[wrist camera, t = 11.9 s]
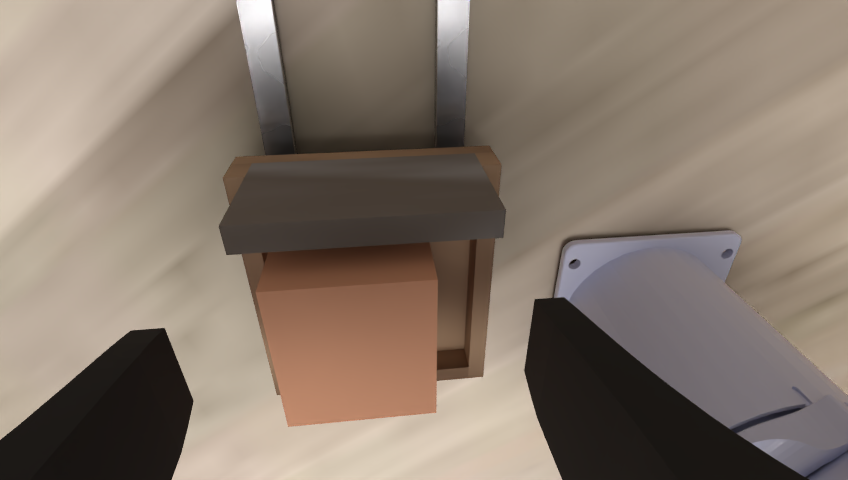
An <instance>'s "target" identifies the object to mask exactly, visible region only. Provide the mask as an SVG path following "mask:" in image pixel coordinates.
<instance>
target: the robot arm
mask: <svg viewBox="0 0 848 480" xmlns="http://www.w3.org/2000/svg"><path fill="white" fill-rule="evenodd" d="M741 240H742V239H741V236H740V235H738V234H737V233H736V232H734V231H731V230H727V231H711V232H695V233H680V234H664V235H648V236H633V237H617V238H601V239H586V240H574V241H570V242H569V243H567V244H566V245H565V246H564V247H563V250H562V254H561V260H560V266H559V271H558V277H557V282H556V288H555V294H554V298H546V299H535V301H534V308H533V315H532V322H531V329H530V336H529V342H528V349H527V356H526V363H525V370H524V371H525V375H526V379H527V383H528V387H529V390H530V394H531V398H532V401H533V405H534V408H535V412H536V415H537V418H538V421H539V423H540V426H541V428H542V431H543V433H544V436H545V438H546V441H547V443H548V446H549V448H550V451H551V453H552V456H553V458H554V460H555V463H556V465H557V468H558V470H559V473H560V475H561V477H562V480H848V395H847V394H845V393H844V392H843V391H842V390H841V389H840V388H839V387H838V386H837V385H836V384H835V383H833V382H832V381H831V380H830V379H829V378H828V377H827V376H826V375H825V374H824V373H823V372H821V371H820V370H819V369H818V368H817V367H816V366H815V365H814V364H813V363H812V362H811V361H810V360H808V359H807V358H806V357H805V356H804V355H803V354H802V353H801V352H800V351H799V350H798V349H796V348H795V347H794V346H793V345H792V344H791V343H790V342H789V341H788V340H787V339H786V338H784V337H783V336H782V335H781V334H780V333H779V332H778V331H777V330H776V329H775V328H774V327H772V326H771V325H770V324H769V323H768V322H767V321H766V320H765V319H764V318H763V317H762V316H760V315H759V314H758V313H757V312H756V311H755V310H754V309H753V308H752V307H751V306H750V305H748V304H747V303H746V302H745V301H744V300H743V299H742V298H741V297H740V296H739V295H738V294H736V293H735V292H734V291H733V290H732V289H731V288H730V287H729V286H728V285H727V284H726V283H725V280H726V278H727V276H728V273H729V271H730V268H731V266H732V263H733V261H734V259H735V256H736V254H737V251H738V249H739V247H740V244H741ZM725 250H726V251H725ZM723 251H725V252H723ZM574 259H577V260H576V261H575V262H574V263H572V264H569V263H570V261H572V260H574ZM192 406H193V398H192V396H191V393H190V391H189V388H188V386H187V383H186V381H185V378H184V376H183V373H182V371H181V368H180V366H179V363H178V361H177V358H176V356H175V353H174V351H173V348H172V346H171V343H170V341H169V338H168V336H167V333H166V331H165V328H159V329H146V330H133V331H130V332H129V333H127V334H126V335H125V336H124V337H122V338H121V339H120V340H118V341H117V342H116V343H115V344H114V345H112V346H111V347H110V348H109V349H108V350H106V351H105V352H104V353H103V354H102V355H101V356H99V357H98V358H97V359H96V360H95V361H94V362H92V363H91V364H90V365H89V366H88V367H87V368H85V369H84V370H83V371H82V372H81V373H80V374H78V375H77V376H76V377H75V378H74V379H73V380H72V381H70V382H69V383H68V384H67V385H66V386H65V387H63V388H62V389H61V390H60V391H59V392H57V393H56V394H55V395H54V396H53V397H52V398H50V399H49V400H48V401H47V402H46V403H44V404H43V405H42V406H41V407H40V408H39V409H37V410H36V411H35V412H34V413H33V414H31V415H30V416H29V417H28V418H27V419H26V420H24V421H23V422H22V423H21V424H20V425H18V426H17V427H16V428H15V429H13V430H12V431H11V432H10V433H8V434H7V435H6V436H5V437H3V438H2V439H1V440H0V480H171V479H172V477H173V474H174V471H175V469H176V466H177V463H178V460H179V458H180V455H181V452H182V448H183V444H184V440H185V436H186V432H187V428H188V424H189V419H190V415H191V410H192Z"/></svg>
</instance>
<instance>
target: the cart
mask: <svg viewBox="0 0 848 480" xmlns="http://www.w3.org/2000/svg"><path fill="white" fill-rule="evenodd" d="M500 176H501V163H500V162H499V160H498V158H497V157H496V155H495V154H494V152H493V151H492V149H491V148H490V146H470V147H448V148H425V149H402V150H380V151H357V152H334V153H312V154H289V155H266V156H244V157H235V159H234V161H233V162H232V164H231V165H230V167H229V169H228V170H227V172H226V174H225V175H224V177H223V181H224V185H225V189H226V193H227V197H228V201H229V205H230V206H229V208H228V210H227V211H226V213H225V215H224V217H223V219H222V221H221V223H220V225H219V229H220V233H221V236H222V240H223V244H224V247H225V251H226V255H234V254H242V257H243V261H244V265H245V269H246V273H247V277H248V281H249V285H250V289H251V293H252V297H253V301H254V305H255V309H256V313H257V317H258V321H259V325H260V329H261V333H262V337H263V341H264V345H265V349H266V353H267V357H268V361H269V365H270V369H271V373H272V377H273V381H274V385H275V389H276V393H277V395H280V391H279V387H278V382H277V378H276V374H275V370H274V366H273V362H272V358H271V354H270V350H269V346H268V341H267V337H266V333H265V329H264V325H263V321H262V317H261V313H260V309H259V305H258V300H257V296H256V289H257V286H258V283H259V280H260V277H261V274H262V270H263V267H264V264H265V261H266V258H267V255H268V252H282V251H298V250H314V249H330V248H346V247H362V246H378V245H394V244H410V243H426V242H429V243H430V247H431V251H432V256H433V260H434V265H435V269H436V274H437V278H438V310H437V381H440V380H451V379H462V378H473V377H483V370H484V359H485V347H486V336H487V325H488V313H489V302H490V290H491V279H492V267H493V256H494V244H495V238H503V235H504V225H505V214H506V209H505V207H504V205H503V204H502V202H501V200H500V198H499V187H500Z"/></svg>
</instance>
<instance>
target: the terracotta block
mask: <svg viewBox="0 0 848 480" xmlns="http://www.w3.org/2000/svg"><path fill="white" fill-rule="evenodd" d="M256 296H257V300H258V305H259V309H260V313H261V317H262V321H263V325H264V329H265V333H266V337H267V341H268V346H269V350H270V354H271V358H272V362H273V366H274V370H275V374H276V378H277V382H278V387H279V391H280V395H281V399H282V403H283V407H284V411H285V415H286V419H287V423H288V427H290V426H301V425H311V424H322V423H332V422H343V421H353V420H364V419H374V418H385V417H395V416H405V415H416V414H426V413H436V386H437V310H438V278H437V274H436V269H435V265H434V260H433V256H432V251H431V247H430V243H429V242H426V243H410V244H394V245H378V246H362V247H346V248H330V249H314V250H298V251H282V252H268V255H267V258H266V261H265V264H264V267H263V270H262V274H261V277H260V280H259V283H258V286H257V289H256Z"/></svg>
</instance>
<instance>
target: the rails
mask: <svg viewBox="0 0 848 480" xmlns="http://www.w3.org/2000/svg"><path fill="white" fill-rule="evenodd" d="M236 3H237V8H238V13H239V19H240V24H241V29H242V34H243V39H244V45H245V50H246V55H247V60H248V65H249V71H250V76H251V81H252V86H253V91H254V97H255V102H256V107H257V112H258V117H259V123H260V128H261V133H262V138H263V143H264V149H265V154H266V155H289V154H297V151H296V144H295V138H294V131H293V125H292V118H291V112H290V105H289V99H288V93H287V86H286V80H285V73H284V67H283V60H282V54H281V47H280V41H279V35H278V28H277V22H276V15H275V9H274V2H273V0H236ZM469 9H470V0H436V80H435V148H448V147H464V130H465V106H466V82H467V58H468V34H469Z"/></svg>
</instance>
